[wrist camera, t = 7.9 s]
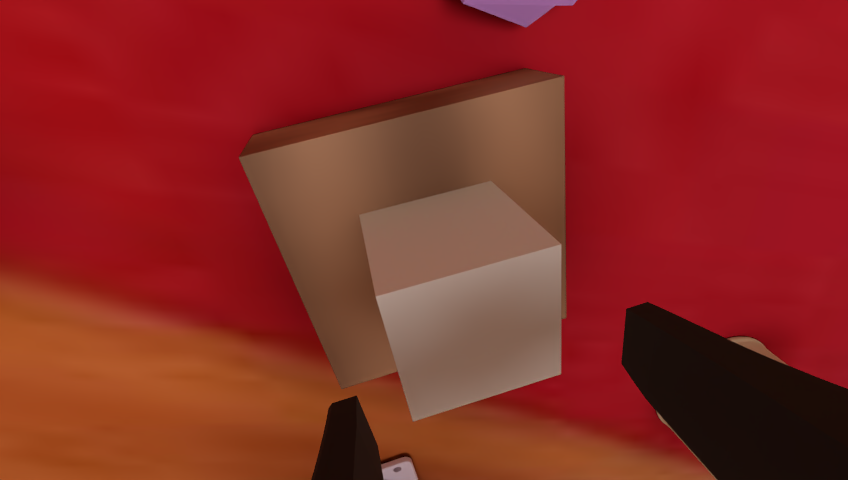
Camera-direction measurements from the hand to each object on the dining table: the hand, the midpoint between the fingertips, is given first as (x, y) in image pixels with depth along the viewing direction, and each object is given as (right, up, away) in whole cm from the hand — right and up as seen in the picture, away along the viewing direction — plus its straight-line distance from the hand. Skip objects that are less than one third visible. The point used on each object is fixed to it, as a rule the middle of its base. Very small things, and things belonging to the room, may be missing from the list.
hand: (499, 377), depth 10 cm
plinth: (-2, +4, +8) cm, 9 cm away
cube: (-1, +3, +5) cm, 6 cm away
